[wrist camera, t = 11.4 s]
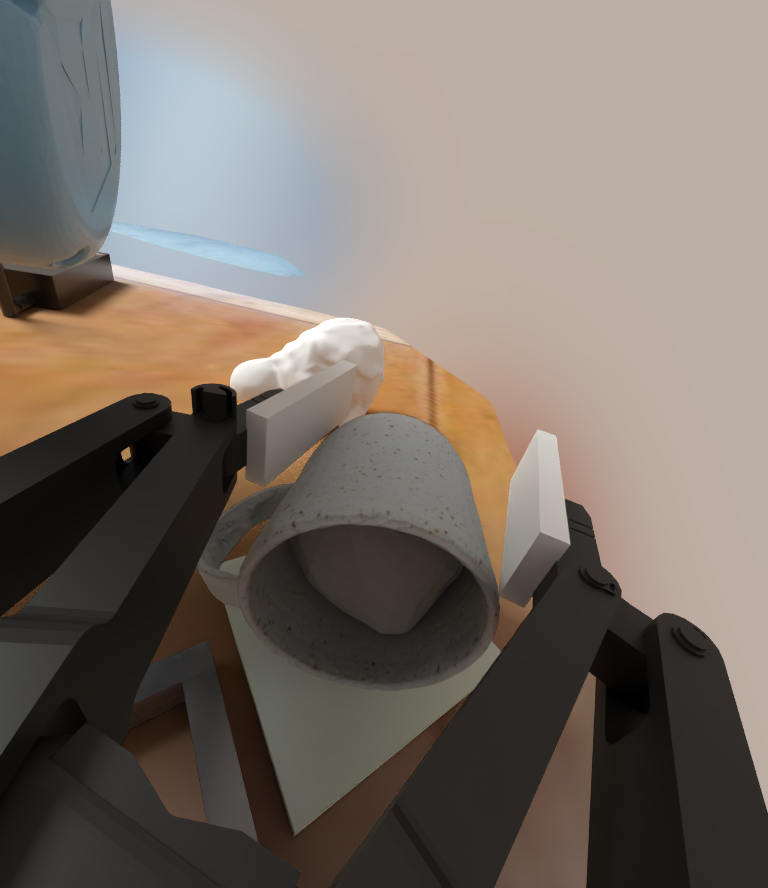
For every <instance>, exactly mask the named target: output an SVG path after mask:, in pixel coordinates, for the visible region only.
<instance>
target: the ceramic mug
mask: <svg viewBox="0 0 768 888" xmlns="http://www.w3.org/2000/svg"><path fill="white" fill-rule="evenodd" d="M269 518H270V519H269ZM266 519H269V520H268V522H267V523H266V525H265V526H264V528H263V529H262V531H261V532H260V534H259V535H258V537H257V538H256V539H255V541H254V542H253V544H252V545H251V547H250V549H249V551H248V553H247V555H246V557H245V559H244V561H243V563H242V565H241V567H240V570H239V576H238V575H234V574H232V573H229V572H224V571H221V570H220V566H221V565H222V564H223V562H224V560H225V559H226V557H227V556H228V555H229V553H230V552H231V551H232V549H233V548H234V547H235V546H236V545H237V544H238V542H239V541H240V540H241V538H242V537H243V535H244V534H246V533H247V532H248V531H249V530H250V529H251V528H252V527H254V526H255V525H257V524H258V523H260V522H262V521H264V520H266ZM196 567H197V570H198V572H199V574H200V575H201V577H202V578H203V580H204V582H205V583H206V585H207V587H208V589H209V590H210V592H211V593H212V594H213V595H214V597H216V598H217V599H218V600H219V601H221V602H223V603H224V604H227V605H230V606H233V607H236V608H240V609H241V611H242V613H243V616H244V618H245V620H246V622H247V624H248V626H249V627H250V628H251V629H252V630H253V631H254V633H255V635H256V636H257V638H258V639H259V640H261V641H262V642H263V643H264V644H265V645H266V646H267V647H268V648H269V649H270V650H271V651H272V652H274V653H275V654H277V655H278V656H280V657H281V658H282V659H284V660H285V661H286V662H287V663H289V664H291V665H292V666H294V667H296V668H298V669H300V670H302V671H304V672H307V673H309V674H312V675H314V676H316V677H320V678H323V679H326V680H328V681H331V682H334V683H337V684H341V685H346V686H351V687H355V688H364V689H368V690H383V691H398V690H403V689H412V688H421V687H425V686H430V685H434V684H437V683H440V682H443V681H445V680H447V679H449V678H451V677H453V676H455V675H457V674H459V673H461V672H463V671H464V670H465V669H467V668H468V667H469V666H470V665H472V664H473V663H474V662H475V661H476V660H477V659H478V658H479V657H481V656H482V654H483V653H484V652H485V651H486V650H487V649H488V646H489V644H490V642H491V641H492V639H493V637H494V636H495V632H496V629H497V625H498V621H499V612H500V605H499V595H498V587H497V583H496V579H495V576H494V572H493V569H492V566H491V562H490V559H489V555H488V551H487V547H486V543H485V540H484V536H483V531H482V527H481V523H480V519H479V515H478V512H477V509H476V505H475V502H474V498H473V493H472V489H471V484H470V480H469V477H468V474H467V471H466V469H465V466H464V464H463V462H462V460H461V459H460V457H459V455H458V454H457V452H456V450H455V449H454V448H453V446H452V445H451V444H450V442H449V441H448V440H447V439H446V438H445V437H444V436H443V435H442V434H441V433H440V432H439V431H438V430H436V429H435V428H434V427H433V426H431V425H430V424H428V423H425V422H423V421H421V420H419V419H417V418H415V417H413V416H408V415H403V414H398V413H386V412H385V413H372V414H367V415H363V416H360V417H357V418H355V419H353V420H350V421H348V422H346V423H344V424H343V425H341V426H340V427H338V428H337V429H336V430H334V431H333V432H332V433H331V434H330V435H329V436H328V437H327V438H325V439H324V440H323V442H322V443H321V444H320V445H319V446H318V447H317V449H316V450H315V451H314V452H313V454H312V455H311V457H310V458H309V460H308V461H307V463H306V464H305V466H304V468H303V470H302V472H301V474H300V476H299V477H298V479H297V480H296V482H295V483H290V484H283V485H279V486H275V487H271V488H268V489H264V490H261V491H259V492H257V493H255V494H253V495H251V496H249V497H247V498H245V499H243V500H242V501H240V502H238V503H237V504H235V505H234V506H232V507H231V508H230V509H228V510H227V511H226V512H224V513H223V514H222V515H221V516H220V518H219V520H218V522H217V524H216V526H215V528H214V530H213V533H212V535H211V537H210V539H209V541H208V543H207V545H206V547H205V549H204V551H203V554H202V556H201V558H200V560H199V562H198V564H197V566H196Z"/></svg>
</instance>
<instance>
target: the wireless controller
mask: <svg viewBox="0 0 768 888" xmlns="http://www.w3.org/2000/svg"><path fill="white" fill-rule="evenodd" d="M112 281H114V278H113V273H112V267H111V262H110V256H109V254H107V253H101V252H97V253H96V254H95V255H94V256H93V257H92V258H91V259H89V260H88V261H86V262H85V263H83V264H80V265H78V266H75V267H70V268H61V269H50V268H41V267H33V266H24V265H16V264H7V263H0V308H1V310H2V313H3V316H5V317H11V318H13V317H19V313H18V312H20V311H21V310H24V309H26V308H28V307H30V306H33V307H39V308H46V309H53V308H54V310H63V309H65V308H66V307H68V306H70V305H72V304H73V303H75V302H77V301H79V300H81V299H82V298H84V297H86V296H88V295H89V294H91V293H93V292H95V291H96V290H98V289H100V288H102V287H103V286H105V285H107V284H109V283H111V282H112Z"/></svg>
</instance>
